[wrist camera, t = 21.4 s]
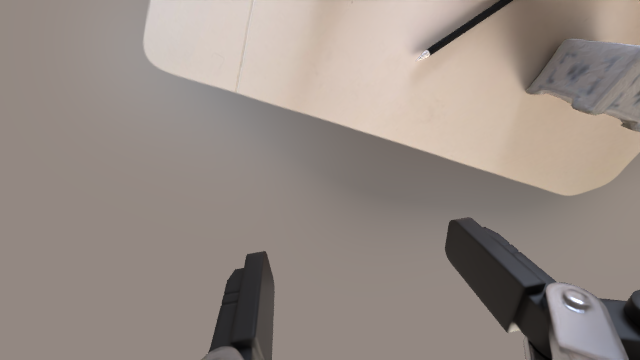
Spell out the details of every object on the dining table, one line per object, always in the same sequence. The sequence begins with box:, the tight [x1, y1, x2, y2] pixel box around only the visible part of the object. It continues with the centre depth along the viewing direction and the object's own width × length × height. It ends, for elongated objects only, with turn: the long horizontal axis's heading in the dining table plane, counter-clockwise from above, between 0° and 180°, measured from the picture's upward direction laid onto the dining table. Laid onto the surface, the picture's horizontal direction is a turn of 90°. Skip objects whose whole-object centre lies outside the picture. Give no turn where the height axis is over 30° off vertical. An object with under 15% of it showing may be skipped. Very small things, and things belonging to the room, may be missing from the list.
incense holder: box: [526, 38, 640, 132], centre depth 32 cm, size 10×8×10 cm
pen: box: [416, 0, 513, 61], centre depth 31 cm, size 1×19×1 cm, turn 122°
